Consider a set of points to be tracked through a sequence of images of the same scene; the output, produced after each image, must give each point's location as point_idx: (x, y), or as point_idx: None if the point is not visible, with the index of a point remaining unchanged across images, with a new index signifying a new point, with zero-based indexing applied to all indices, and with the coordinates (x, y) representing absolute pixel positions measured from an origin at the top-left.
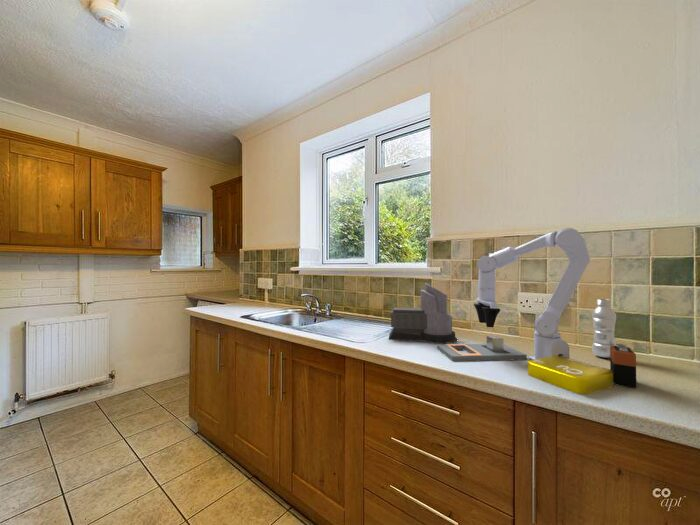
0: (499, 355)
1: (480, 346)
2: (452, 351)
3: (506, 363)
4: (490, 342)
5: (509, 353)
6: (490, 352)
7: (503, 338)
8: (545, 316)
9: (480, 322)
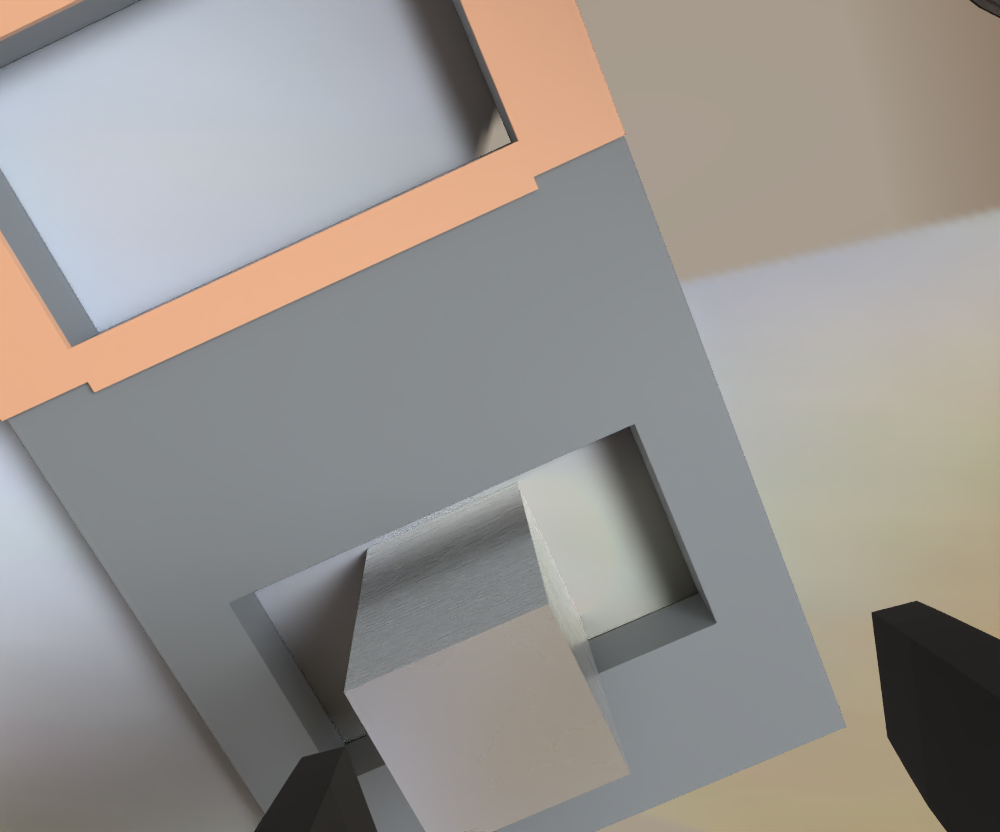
0: (155, 642)
1: (562, 418)
2: None
3: (52, 672)
4: (420, 608)
5: None
6: (256, 540)
7: None
8: None
9: (878, 626)
